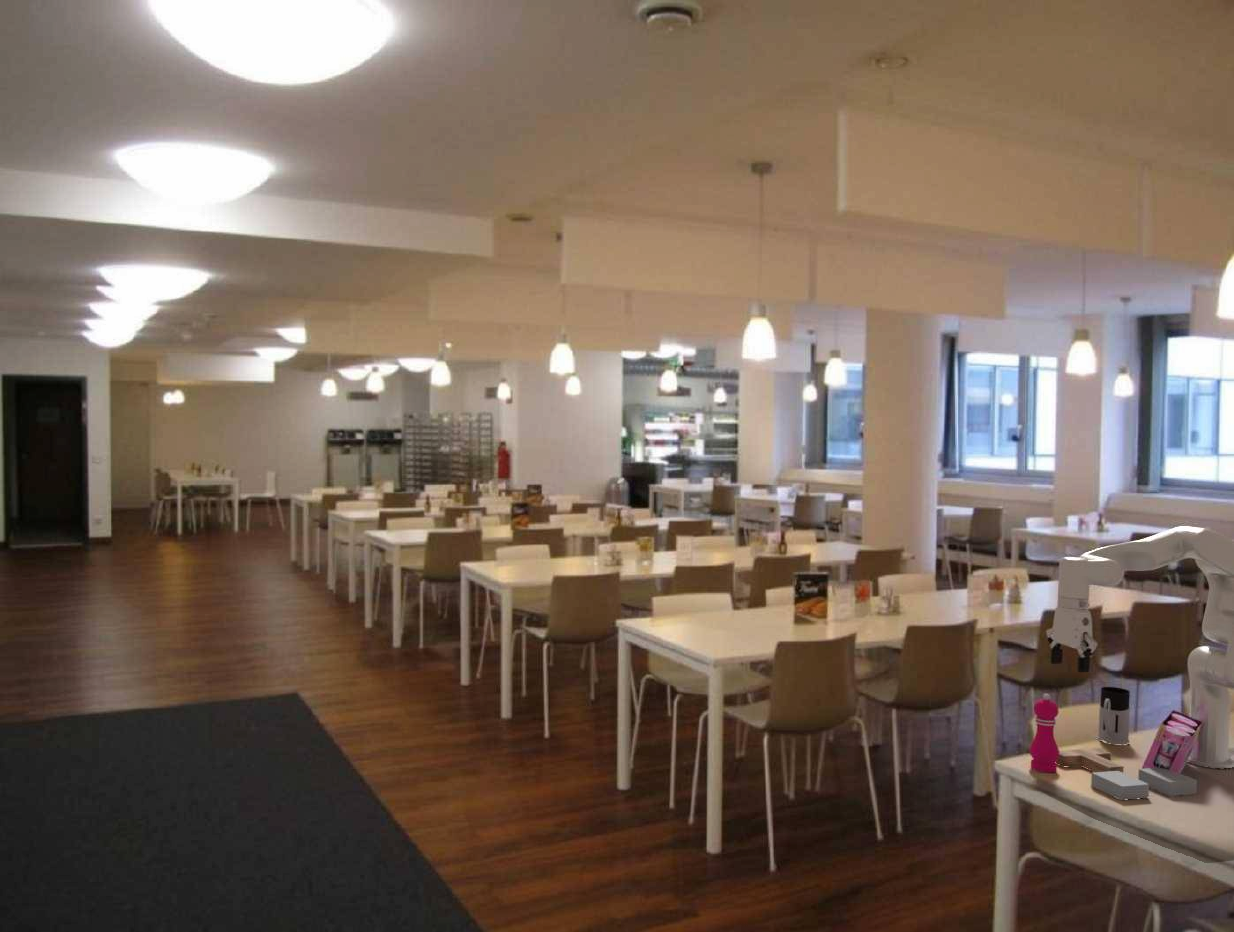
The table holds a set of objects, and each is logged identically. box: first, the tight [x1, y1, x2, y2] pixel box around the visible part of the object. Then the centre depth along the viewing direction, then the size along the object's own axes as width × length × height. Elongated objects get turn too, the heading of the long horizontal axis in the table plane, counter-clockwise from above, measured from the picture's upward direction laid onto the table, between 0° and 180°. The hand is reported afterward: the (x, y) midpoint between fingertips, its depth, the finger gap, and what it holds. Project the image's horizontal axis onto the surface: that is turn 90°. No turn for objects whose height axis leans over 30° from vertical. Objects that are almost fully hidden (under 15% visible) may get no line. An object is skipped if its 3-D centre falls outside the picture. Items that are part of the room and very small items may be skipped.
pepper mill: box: [1029, 693, 1060, 773], centre depth 260 cm, size 7×7×20 cm
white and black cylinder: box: [1096, 686, 1131, 744], centre depth 285 cm, size 9×14×15 cm, turn 138°
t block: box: [1055, 747, 1124, 773], centre depth 261 cm, size 15×14×3 cm
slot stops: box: [1090, 768, 1198, 801], centre depth 246 cm, size 22×10×4 cm, turn 106°
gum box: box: [1141, 709, 1203, 774], centre depth 260 cm, size 24×8×14 cm, turn 143°
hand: (1069, 667), depth 262 cm, fingers open, 9 cm apart
